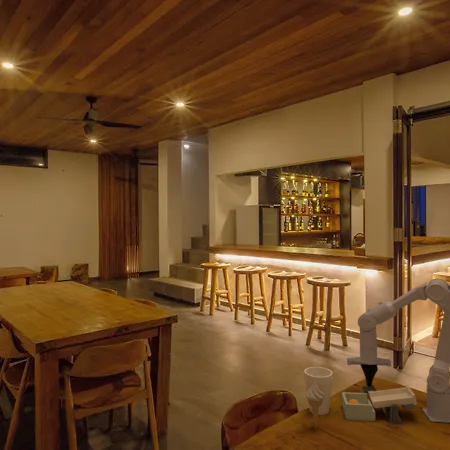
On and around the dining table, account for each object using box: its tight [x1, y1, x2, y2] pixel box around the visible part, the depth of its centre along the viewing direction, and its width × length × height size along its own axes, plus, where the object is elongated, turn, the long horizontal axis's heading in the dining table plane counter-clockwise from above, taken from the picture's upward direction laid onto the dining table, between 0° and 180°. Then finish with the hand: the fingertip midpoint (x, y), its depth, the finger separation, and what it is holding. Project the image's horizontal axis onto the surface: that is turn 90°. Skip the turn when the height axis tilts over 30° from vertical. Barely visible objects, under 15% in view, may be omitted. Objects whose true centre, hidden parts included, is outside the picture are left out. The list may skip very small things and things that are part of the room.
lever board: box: [361, 384, 418, 411], centre depth 132 cm, size 14×15×5 cm
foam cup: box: [303, 366, 334, 416], centre depth 132 cm, size 10×9×13 cm
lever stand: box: [381, 405, 404, 426], centre depth 128 cm, size 4×11×6 cm, turn 171°
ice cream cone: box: [305, 381, 324, 430], centre depth 121 cm, size 6×6×15 cm
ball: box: [348, 399, 359, 404], centre depth 130 cm, size 4×4×4 cm
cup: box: [341, 391, 376, 422], centre depth 129 cm, size 9×9×5 cm
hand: (369, 385), depth 138 cm, fingers closed
